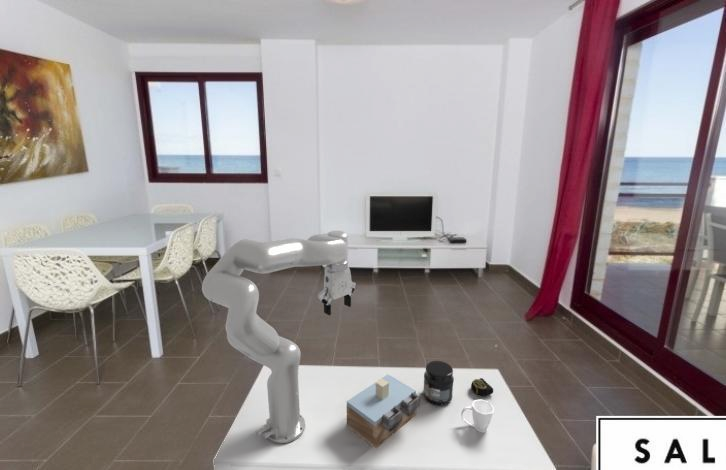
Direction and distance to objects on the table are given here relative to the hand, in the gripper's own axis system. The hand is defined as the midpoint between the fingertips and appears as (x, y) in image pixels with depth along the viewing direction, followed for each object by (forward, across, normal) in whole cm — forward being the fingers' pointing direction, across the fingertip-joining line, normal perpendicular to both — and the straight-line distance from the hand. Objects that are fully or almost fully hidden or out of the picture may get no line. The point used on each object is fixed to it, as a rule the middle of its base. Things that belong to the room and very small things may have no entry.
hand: (337, 309), depth 132 cm
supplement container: (+31, +20, -32) cm, 49 cm away
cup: (+31, +17, -49) cm, 60 cm away
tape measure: (+31, +35, -42) cm, 62 cm away
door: (+22, -3, -25) cm, 34 cm away
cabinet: (+30, -3, -27) cm, 41 cm away
